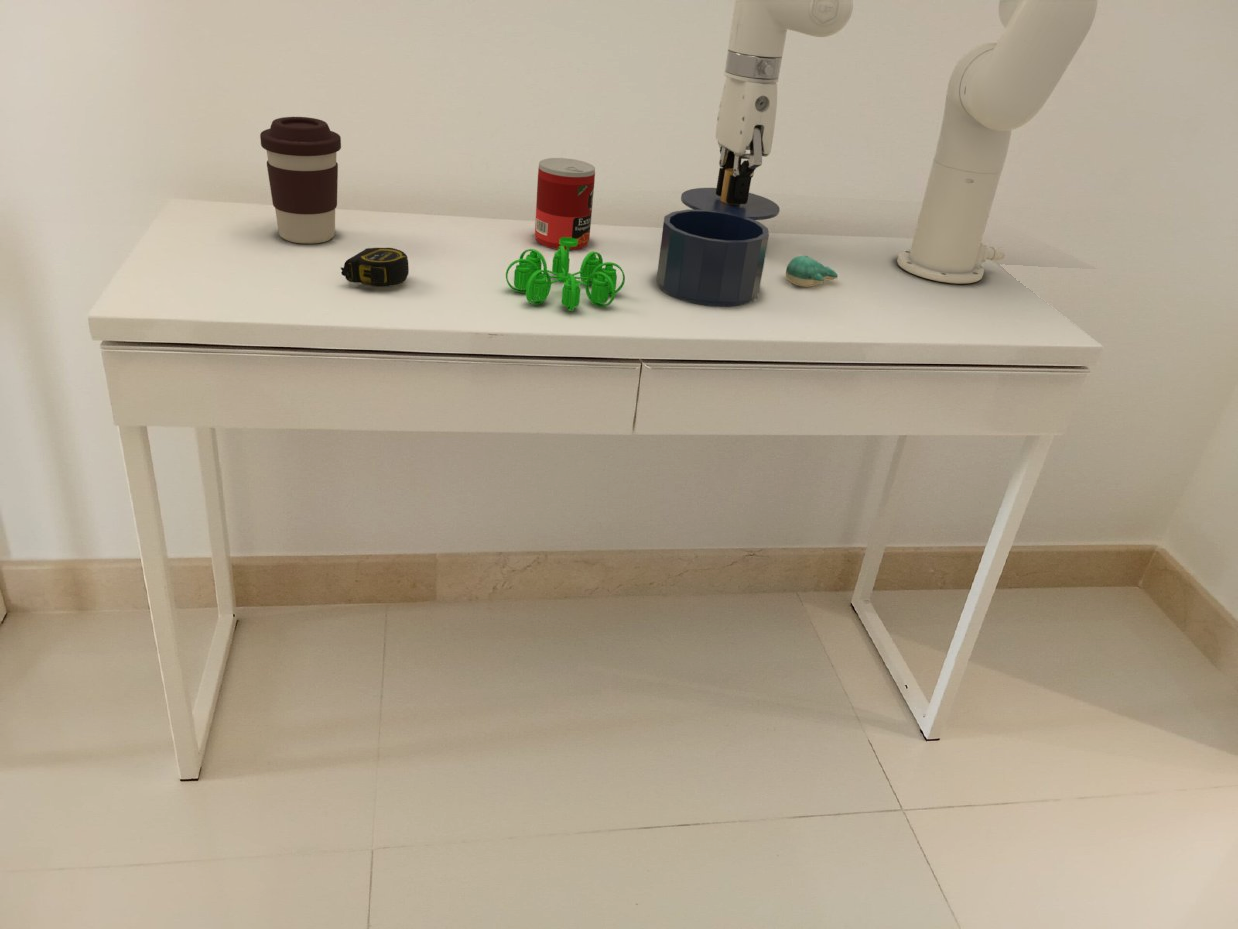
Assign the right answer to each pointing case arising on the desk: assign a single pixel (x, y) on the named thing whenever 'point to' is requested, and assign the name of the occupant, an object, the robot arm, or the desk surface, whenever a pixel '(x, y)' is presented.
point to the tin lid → (709, 200)
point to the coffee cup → (303, 177)
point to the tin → (711, 257)
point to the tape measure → (377, 267)
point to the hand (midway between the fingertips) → (731, 198)
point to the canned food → (564, 201)
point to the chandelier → (565, 276)
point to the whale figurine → (808, 272)
